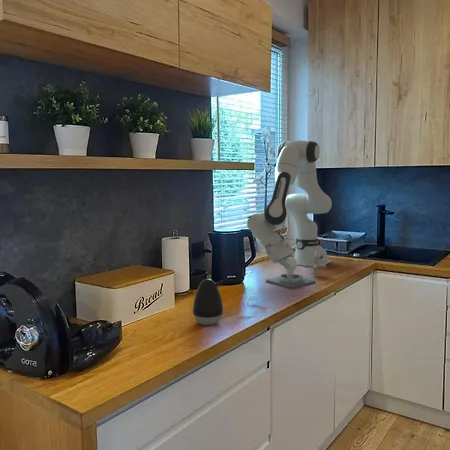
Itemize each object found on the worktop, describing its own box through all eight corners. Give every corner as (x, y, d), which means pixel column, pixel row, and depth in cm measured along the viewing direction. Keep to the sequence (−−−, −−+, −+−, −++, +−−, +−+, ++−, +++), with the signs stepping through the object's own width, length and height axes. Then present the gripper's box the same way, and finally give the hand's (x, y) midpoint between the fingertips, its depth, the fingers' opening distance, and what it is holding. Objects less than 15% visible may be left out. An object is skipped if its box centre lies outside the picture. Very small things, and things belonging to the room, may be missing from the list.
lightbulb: (293, 282, 203) (293, 258, 202) (280, 281, 207) (281, 257, 206) (299, 280, 209) (299, 256, 208) (286, 278, 212) (286, 255, 211)
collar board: (289, 276, 219) (289, 270, 219) (315, 283, 207) (315, 276, 207) (265, 281, 209) (265, 275, 209) (291, 288, 197) (291, 282, 197)
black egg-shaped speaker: (227, 326, 149) (227, 281, 148) (196, 329, 146) (196, 283, 145) (219, 316, 159) (218, 274, 157) (190, 319, 156) (189, 276, 154)
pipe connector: (326, 279, 215) (326, 258, 214) (304, 278, 217) (305, 257, 216) (325, 274, 225) (326, 254, 224) (305, 273, 227) (305, 253, 226)
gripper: (267, 241, 200) (288, 265, 197) (284, 236, 218) (303, 257, 214) (258, 250, 203) (278, 274, 199) (276, 244, 221) (294, 266, 217)
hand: (291, 265), depth 207 cm, fingers open, 8 cm apart
